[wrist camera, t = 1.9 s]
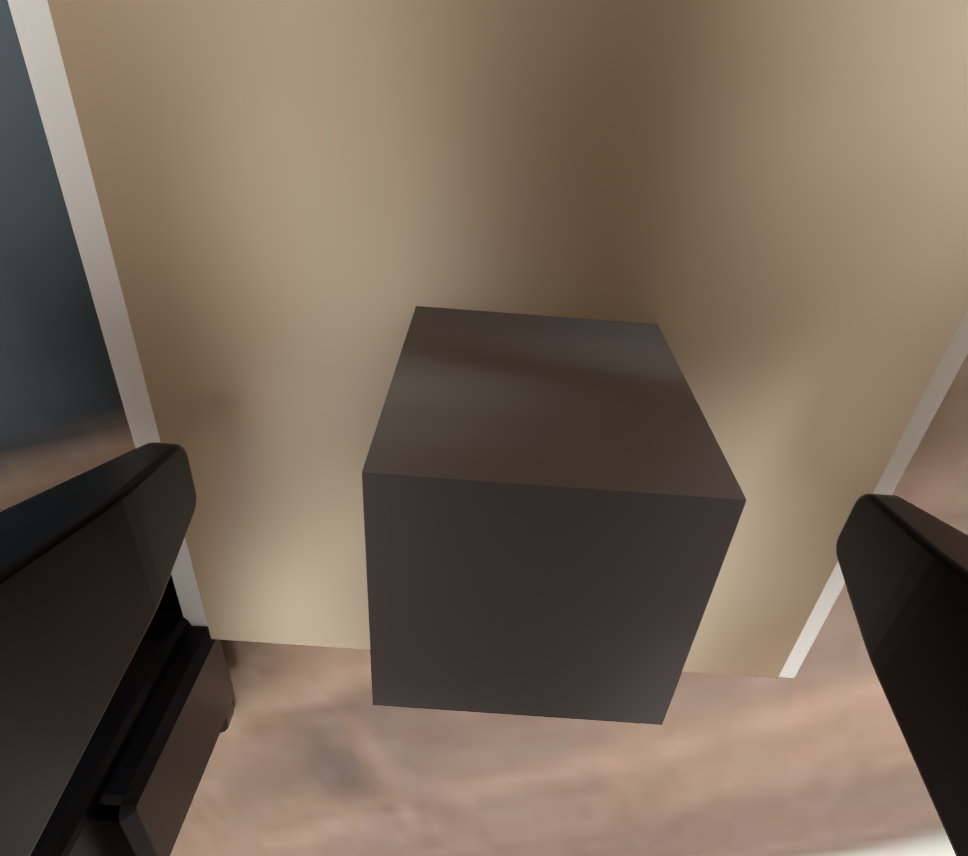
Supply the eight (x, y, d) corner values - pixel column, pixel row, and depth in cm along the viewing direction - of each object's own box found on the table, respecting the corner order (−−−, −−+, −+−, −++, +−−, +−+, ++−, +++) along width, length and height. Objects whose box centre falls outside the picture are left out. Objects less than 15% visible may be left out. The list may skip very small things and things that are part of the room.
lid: (225, 609, 14) (109, 849, 10) (65, -89, 7) (-473, -229, 3) (764, 646, 14) (869, 899, 10) (1074, -7, 7) (1744, -47, 3)
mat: (202, 608, 15) (188, 635, 14) (-3, -192, 7) (-54, -214, 7) (781, 649, 15) (794, 677, 14) (1153, -97, 8) (1215, -108, 7)
